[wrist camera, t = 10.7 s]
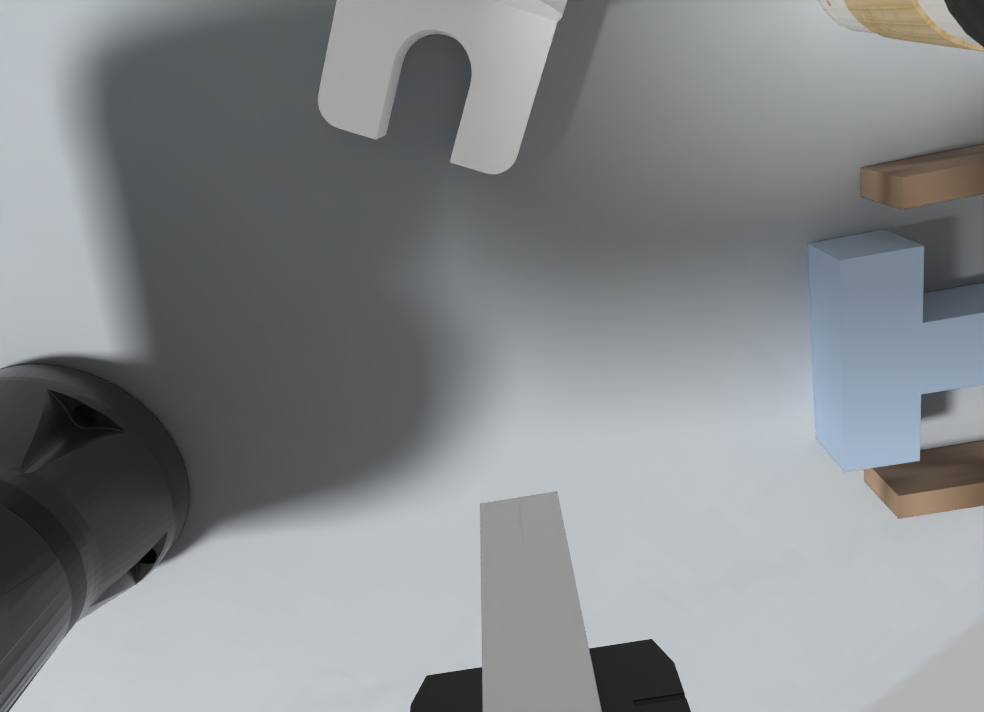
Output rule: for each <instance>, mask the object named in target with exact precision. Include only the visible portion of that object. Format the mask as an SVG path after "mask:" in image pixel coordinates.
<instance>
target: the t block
mask: <svg viewBox="0 0 984 712" xmlns="http://www.w3.org/2000/svg"><path fill="white" fill-rule="evenodd" d="M808 259H809V285H810V311H811V337H812V363H813V389H814V415H815V439H816V440H817V441H818V442H819V443H820V444H821V446H822V447H823V448H824V449H825V450H826V452H827V453H828V454H829V455H830V456H831V457H832V459H833V460H834V461H835V462H836V463H837V465H838V466H839V467H840V468H841V469H842V470H843V472H849V471H856V470H862V469H869V468H876V467H882V466H889V465H895V464H902V463H908V462H915V461H920V430H921V394H927V393H933V392H939V391H946V390H952V389H958V388H964V387H971V386H977V385H983V384H984V283H979V284H973V285H967V286H962V287H956V288H950V289H944V290H938V291H933V292H927V293H923V282H924V245H921V244H919V243H916V242H914V241H911V240H909V239H907V238H904V237H902V236H899V235H897V234H894V233H892V232H889V231H887V230H884V229H883V230H877V231H872V232H867V233H861V234H856V235H851V236H845V237H840V238H834V239H829V240H824V241H818V242H813V243H808Z"/></svg>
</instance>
